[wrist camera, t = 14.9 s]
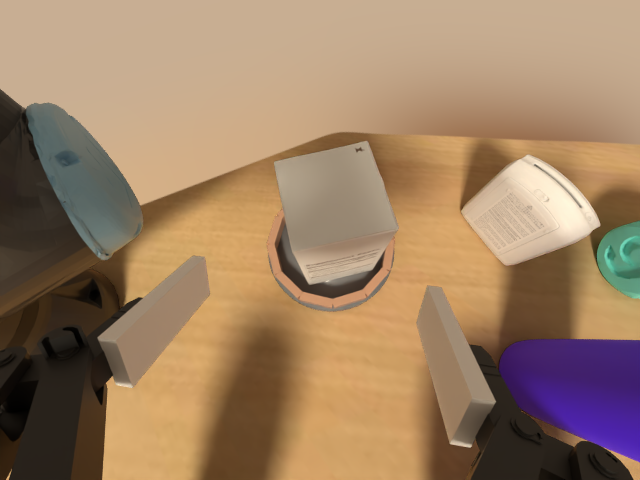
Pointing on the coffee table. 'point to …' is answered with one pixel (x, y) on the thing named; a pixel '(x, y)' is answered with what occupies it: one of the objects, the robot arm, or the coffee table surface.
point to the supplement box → (335, 211)
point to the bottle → (580, 387)
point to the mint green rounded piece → (621, 258)
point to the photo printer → (529, 212)
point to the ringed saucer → (327, 293)
